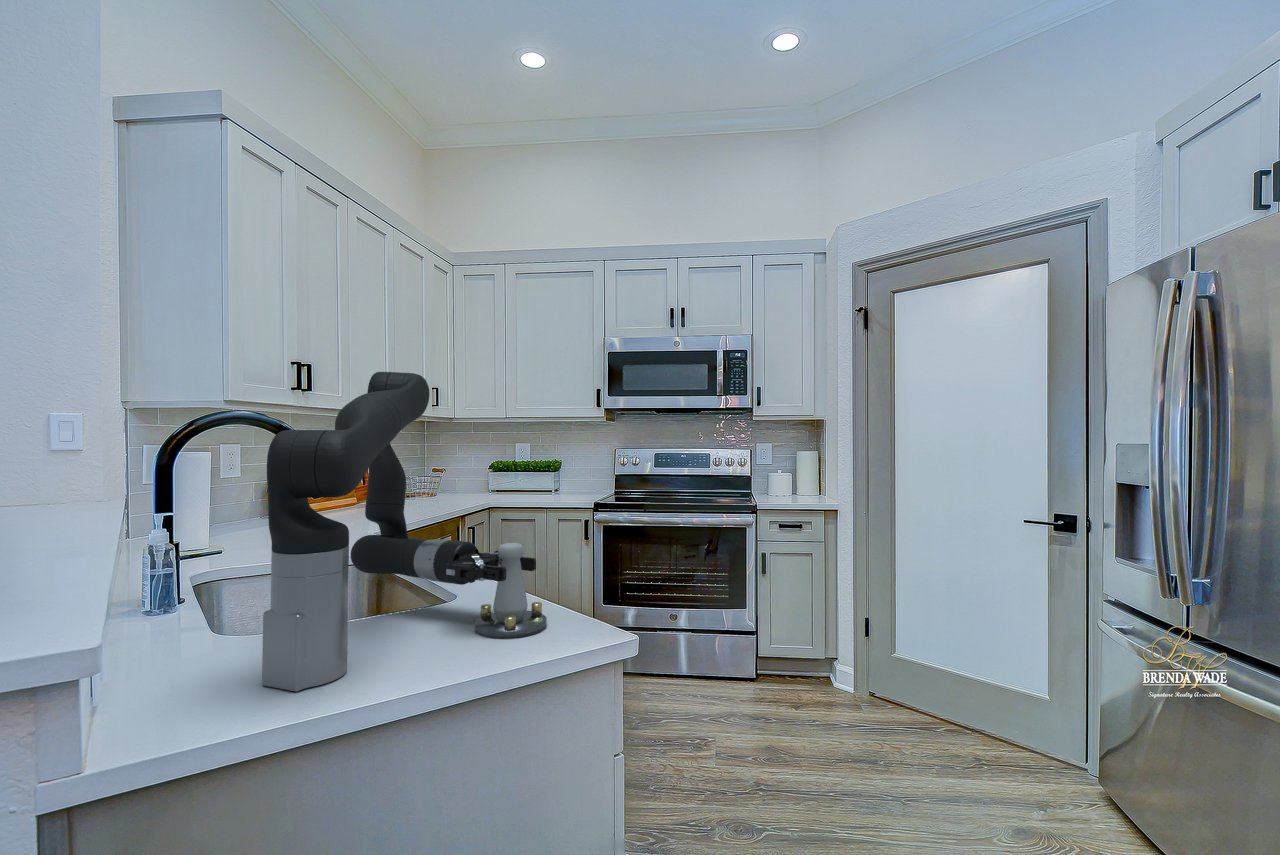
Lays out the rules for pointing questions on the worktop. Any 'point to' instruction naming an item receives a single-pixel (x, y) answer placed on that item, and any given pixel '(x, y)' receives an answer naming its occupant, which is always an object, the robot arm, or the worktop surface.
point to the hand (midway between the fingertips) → (520, 569)
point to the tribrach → (510, 623)
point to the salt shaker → (510, 584)
